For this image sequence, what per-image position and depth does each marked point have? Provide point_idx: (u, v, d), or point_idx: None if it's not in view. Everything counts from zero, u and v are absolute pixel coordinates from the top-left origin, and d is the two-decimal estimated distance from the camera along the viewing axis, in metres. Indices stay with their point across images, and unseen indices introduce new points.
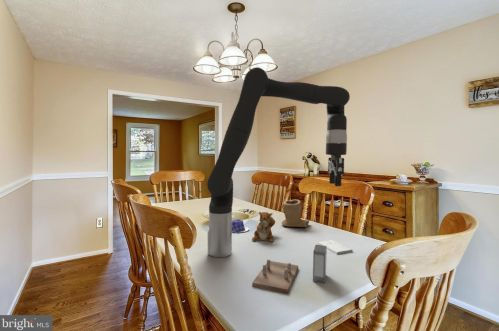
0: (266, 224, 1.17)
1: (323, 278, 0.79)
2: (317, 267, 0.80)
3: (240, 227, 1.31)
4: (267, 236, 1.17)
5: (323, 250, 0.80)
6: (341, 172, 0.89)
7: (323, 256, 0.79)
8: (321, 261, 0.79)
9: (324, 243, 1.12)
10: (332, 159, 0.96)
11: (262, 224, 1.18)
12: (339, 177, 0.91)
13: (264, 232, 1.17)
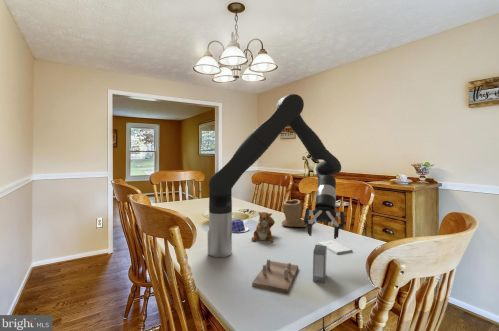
0: (266, 224, 1.17)
1: (323, 278, 0.79)
2: (317, 267, 0.80)
3: (240, 227, 1.31)
4: (267, 236, 1.17)
5: (323, 250, 0.80)
6: (343, 226, 0.90)
7: (323, 256, 0.79)
8: (321, 261, 0.79)
9: (324, 243, 1.12)
10: (323, 211, 0.94)
11: (262, 224, 1.17)
12: None
13: (264, 232, 1.17)
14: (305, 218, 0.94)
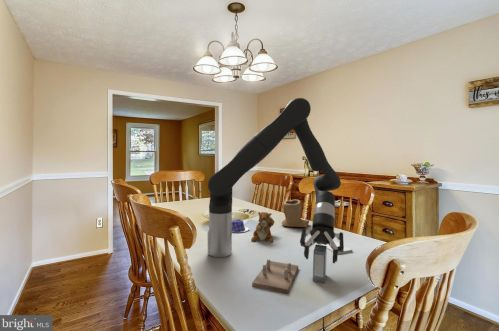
0: (265, 224, 1.17)
1: (323, 278, 0.79)
2: (317, 267, 0.80)
3: (239, 227, 1.31)
4: (266, 236, 1.17)
5: (323, 250, 0.80)
6: None
7: (323, 256, 0.79)
8: (321, 261, 0.79)
9: None
10: (320, 231, 0.88)
11: (261, 224, 1.17)
12: None
13: (263, 232, 1.17)
14: (302, 239, 0.87)
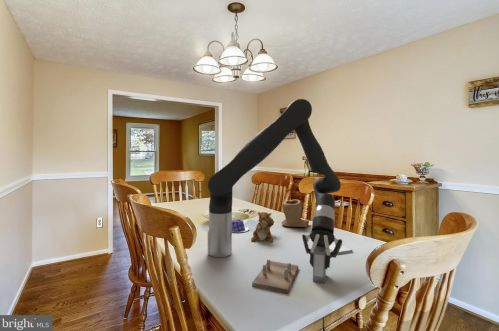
0: (265, 224, 1.17)
1: (323, 278, 0.79)
2: (317, 267, 0.80)
3: (239, 227, 1.31)
4: (266, 236, 1.17)
5: (323, 250, 0.80)
6: (335, 254, 0.82)
7: (323, 256, 0.79)
8: (321, 261, 0.79)
9: None
10: (320, 235, 0.87)
11: (261, 224, 1.17)
12: (329, 259, 0.82)
13: (263, 232, 1.17)
14: (306, 246, 0.85)
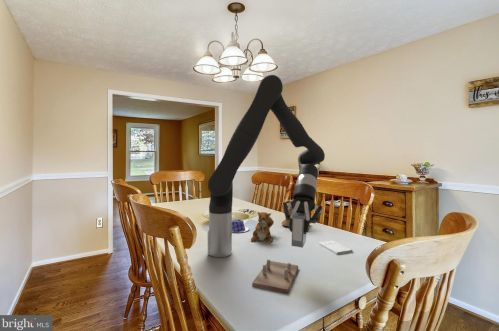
0: (265, 224, 1.17)
1: (301, 242, 0.79)
2: (296, 231, 0.80)
3: (239, 227, 1.31)
4: (266, 236, 1.17)
5: (302, 215, 0.80)
6: (315, 220, 0.82)
7: (302, 220, 0.79)
8: (300, 225, 0.79)
9: (324, 243, 1.12)
10: (301, 202, 0.86)
11: (261, 224, 1.17)
12: (309, 224, 0.81)
13: (263, 232, 1.17)
14: (286, 212, 0.85)
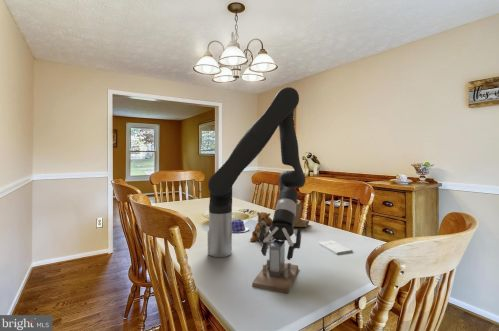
0: (264, 224, 1.17)
1: (279, 273, 0.80)
2: (273, 262, 0.80)
3: (238, 227, 1.31)
4: (265, 236, 1.17)
5: (279, 245, 0.81)
6: (299, 245, 0.83)
7: (278, 251, 0.79)
8: (277, 256, 0.80)
9: (324, 243, 1.12)
10: (279, 228, 0.87)
11: (260, 224, 1.17)
12: (293, 250, 0.82)
13: None
14: (260, 236, 0.87)
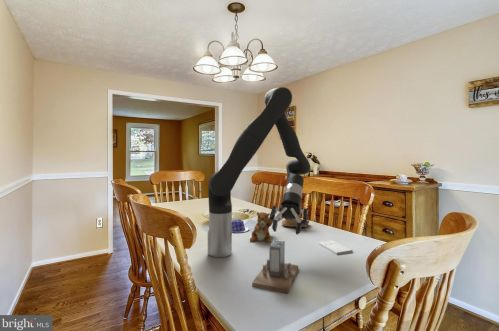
0: (264, 224, 1.17)
1: (279, 273, 0.80)
2: (273, 262, 0.80)
3: (238, 227, 1.31)
4: (265, 236, 1.16)
5: (279, 245, 0.81)
6: (306, 222, 0.94)
7: (278, 251, 0.79)
8: (277, 256, 0.80)
9: (324, 243, 1.12)
10: (288, 208, 0.99)
11: (260, 224, 1.17)
12: (300, 226, 0.94)
13: (262, 232, 1.17)
14: (271, 215, 0.99)
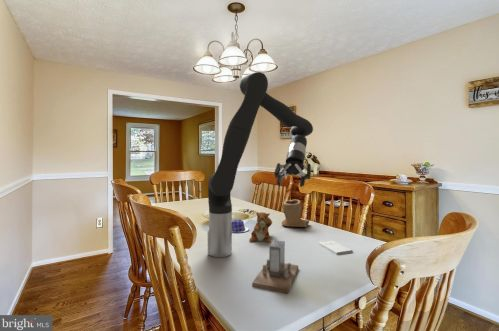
0: (263, 224, 1.17)
1: (279, 273, 0.80)
2: (273, 262, 0.80)
3: (237, 227, 1.31)
4: (265, 236, 1.16)
5: (279, 245, 0.81)
6: (309, 176, 0.98)
7: (278, 251, 0.79)
8: (277, 256, 0.80)
9: (324, 243, 1.12)
10: (292, 164, 1.02)
11: (259, 224, 1.17)
12: (304, 179, 0.97)
13: (261, 232, 1.16)
14: (276, 171, 1.02)
